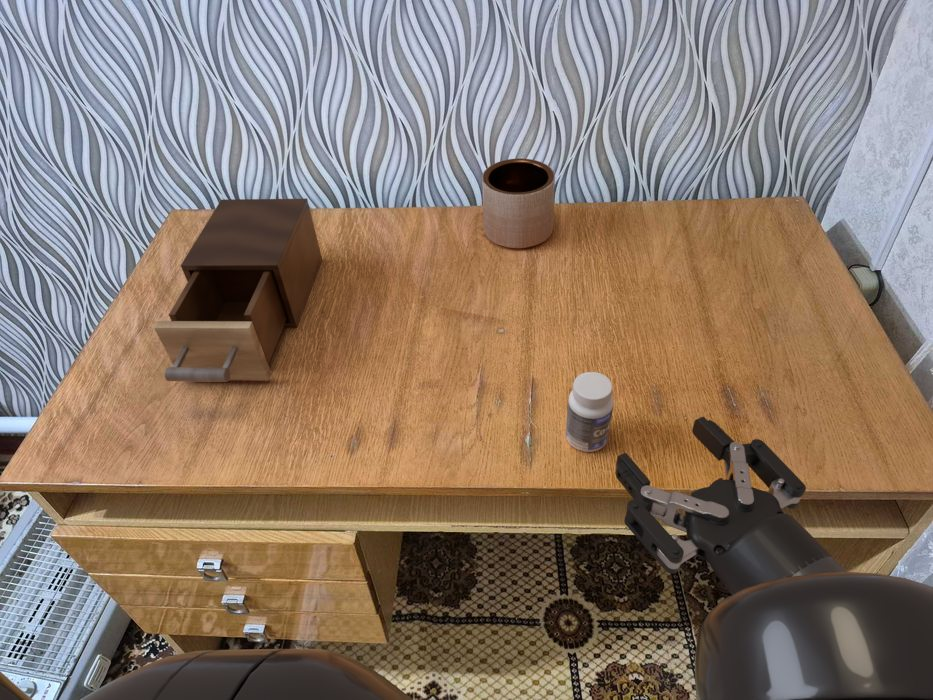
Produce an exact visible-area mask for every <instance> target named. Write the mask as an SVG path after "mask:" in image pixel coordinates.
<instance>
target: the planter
mask: <svg viewBox="0 0 933 700" xmlns="http://www.w3.org/2000/svg"><path fill="white" fill-rule="evenodd" d="M555 186H556V174H555V171H554V170H553V169H552V167H551V166H549V165H548V164H547V163H545V162H542V161H539V160H536V159H530V158H509V159H503V160H499V161H497V162H494V163H493V164H491V165H490V166H488V167H487V168H486V169H485V170H484V171H483V172H482V175H481V187H482V226H483V227H482V228H483V232H484V235H485V237H486V238H487V239H488V240H489V241H490V242H492V243H493V244H496V245H498V246H500V247H504V248H509V249H519V250H520V249H527V248H532V247H534V246H538V245H540V244H542V243H544V242H546V241H547V240H549V238H550V237H551V235H552V234H553V231H554V224H555V221H554V219H555Z"/></svg>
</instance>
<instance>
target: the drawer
mask: <svg viewBox="0 0 933 700" xmlns="http://www.w3.org/2000/svg"><path fill="white" fill-rule="evenodd" d="M287 316H288V315H287V312H286V309H285V306H284V303H283V300H282V297H281V293H280V290H279V287H278V284H277V281H276V278H275V275H274V272H273V270H195V271H194V272H193V274H192V276H191V277H190V279H189V281H188V282H187V283H186V284H185V286H184V288H183V289H182V291H181V293H180V294H179V296H178V298H177V299H176V301H175V302H174V305H173V306H172V308H171V310H170V311H169V313H168V317H169V320H158V321H157V322H156V323H155V325H154V327H153V329H154V331H155V333H156V335H157V336H158V339H159V341H160V343H161V345H162V346H163V349H164V351H165V353H166V354H167V356H168V358H169V360H170V362H171V364H172V366H167V367H166V368H165V371H164V378H165V380H166V381H167V382H196V383H197V382H202V383H204V382H206V383H207V382H208V383H210V382H211V383H228V382H229V381H257V382H258V381H260V382H261V381H265V382H269V381H270V379H271V377H272V372H271V368H270V366H269V365H270V362H271V360H272V357H273V355H274V353H275V352H274V351H275V349H276V347H277V345H278V342H279V339H280V336H281V335H282V332H283V329H284V328H283V326H284V324H285V321H286V319H287Z"/></svg>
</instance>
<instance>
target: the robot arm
mask: <svg viewBox="0 0 933 700" xmlns="http://www.w3.org/2000/svg"><path fill="white" fill-rule="evenodd" d="M691 431H692V434H693V436H694V437H695V438H696V439H697V440H698V441H699V442H700V443H701V444H702V445H703V446H704V447H705V449H707V450H708V452H710V454H712V456H713V457H714V458H715V459H716V460H717V461H719V462H720V461H722V460H723V467H724V477H725V479H724V478H723V477H720V478H717V479H716V480H714V481H712V482H711V483H710V485H708V486H706V487H705V486H704V487H701V488H698V489H695V490H694V491H692V492H691V494H690V495H689V494H687V493H686V494H685V493H683V492H680V491H676V490H673V491H671V492H669V491H666V490H663V489H661V488H658V487H656V486H651V483H652V482H651V480H650V479H649V478H648V476H647V475H646V474H645V473H644V472H643V470H641V468H640V467H639V466H638V465H637V464H636V462H634V460H633V459H632V458H631V457H630V455H629V454H628V453H627V452H622V453H621V454H618V455H617V457H616V462H615V471H614V472H615V473H614V474H615V478H616V480H617V481H618V482H619V483H620V484H621V486H622V487H623V488H624V489H625V490H626V492H627V493H628V494H629V495H630V496H631V498H632V499H631V500H629V501H628V502H627V505H626V512H625V516H624V520H623V521H624V525H625V526H626V527H627V528H628V529H629V531H631V533H632V534H633V535H634V536H635V537H636V539H637V540H638V541H639V542H640V543H641V544H642V545H643V547H644V548H645V549H646V550H647V551H648V552H649V554H650V555H651V556H652V557H653V558H654V560H656V562H657V563H658V564H659V565H660V566H661V568H663V570H664V571H665V572H666V573H668V574H672V575H673V574H676V573H678V571H679V569H680V567H681V565H682V564H683V563H685V562H687V561H688V560H690V559H691V558H692V557H695V556H697V557H699V558H701V559H702V560H704V561H705V562H706V563H707V564H709V566H710V567H711V568H712V570H713V572H714V573H715V575H716V577H717V578H718V579H719V580H720V582H721V583H722V584H723V586H724V587H725V588H726V589H727V590H728V591H729V593H730V594H731V595H730V596H728V597H726V598H724V599H722V600H721V601H719V603H718V604H717V605H715V606H714V607H713V608H712V609H711V610H710V611H709V612H708V613H707V614H706V616H705V619H704V620H703V622H702V623H701V625H700V628H699V630H698V633H697V637H696V645H695V654H694V683H695V685H694V686H695V698H696V700H933V586H932V585H929V584H925V583H922V582H920V581H916V580H914V579H909V578H906V577H900V576H895V575H889V574H883V573H878V572H877V573H876V572H860V571H859V572H856V571H848V570H846V568H845V567H844V566H842V565H841V564H840V562H838V561H837V559H836V558H835V557H834V556H833V555H832V554H831V553H830V552H829V551H828V550H827V549H826V548H825V547H823V545H822V544H821V543H820V542H819V541H818V540H817V539H816V538H815V537H814V536H813V535H812V534H811V533H810V532H809V531H808V530H807V529H806V528H805V527H804V526H803V525H802V524H801V523H800V522H799V521H798V520H797V519H796V518H795V517H794V516H793V515H791V514H788V513H786V512H785V513H784V511H783V509H784V508H787V509H789V510H791V509H793V510H794V509H796V508H797V507H798V505H799V503H800V502H801V499H802V498H803V496H804V494H805V492H806V490H807V486H806V484H805V483H804V482H803V481H802V480H801V479H800V478H799V476H797V475H796V474H795V473H794V472H793V471H792V469H791V468H790V467H789V466H788V465H786V464H785V462H783V460H782V459H781V458H780V457H779V456H778V455H777V454H776V453H775V452H774V451H773V450H772V449H771V447H769V446H768V445H767V443H765V442H764V441H763V440H762V439H758V438H754V439H752V440H751V442H749V443H741V442H739V441H735V440H734V439H732V437H731V436H729V435H728V434H727V433H726V432H725V431H724V430H723V429H722V428H721V427H720V426H719V424H718V423H716V422H715V421H713V420H711V419H707V418H706V417H704V416H701V417H699V418H696V419H695V420H694V422H693V426H692V429H691ZM750 470H752V472H753V473H754V474H755V475H756V476H757V477H758V478H759V479H760V481H762V483H763V484H764V485H765V486H766V487H767V488H768V491H764V490H761V489H758V488H756V487H753V486H752V483H751V475H750V474H751V473H750ZM679 510H680V511H684V514H682V513H680V512H678V511H679ZM657 519H658V520H661V521H662V522H663V524H664V525H665V526H668V527H670V528H673V529H676V530H679V531H681V532H684V533H686V540H683V539H681V538H680V537H679V536H678V535H677V534H675V533H674V534H670V533H669V532H668V531H667V530H666V528H665V527H664V526H663V525H662V524H661V523H660V522H659V521H658V520H657ZM0 700H34V699H33V698H32V697H31V696H30V695H28V693H26V692H25V691H24V690H22V688H20V687H18V685H17V684H15V683H14V682H13V681H12V680H11V679H10V678H9V677H8V676H7V675H5V674H4V672H2V671H1V670H0ZM80 700H414V699H413V698H412V697H411V696H409V695H408V694H407V693H406V692H405V691H403V690H402V689H400V688H399V687H398V686H396V685H395V684H394V683H392V682H391V681H390V680H389V679H388V678H386V677H385V676H383V674H380V673H379V672H377V671H376V670H374V669H372V668H371V667H369V666H368V665H366V664H364V663H362V662H360V660H356V659H354V658H352V657H350V656H347V655H345V654H342V653H340V652H338V651H332V650H327V649H320V648H262V649H261V648H259V649H257V648H255V649H254V648H253V649H251V648H250V649H207V650H194V651H190V652H184V653H183V652H182V653H179V654H174V655H170V656H166V657H162V658H159V659H157V660H155V661H152V662H149V663H148V664H145V665H143V666H141V667H138V668H136V669H135V670H132V671H130V672H128V673H126V674H124V675H121V676H119V677H117V678H115V679H113V680H112V681H110V682H108V683H106V684H104V685H102V686H101V687H100V688H97V689H96V690H94V691H93V692H90V693H89V694H87V695H85V696H84V697H82V698H81V699H80Z"/></svg>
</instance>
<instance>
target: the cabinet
mask: <svg viewBox="0 0 933 700" xmlns="http://www.w3.org/2000/svg"><path fill="white" fill-rule="evenodd" d="M310 208H311V207H310V204H309V201H308V198H244V199H242V198H240V199H239V198H238V199H237V198H235V199H220V200H219V203H218V204H217V206H216V207H215V209H214V211H213V212H212V214H211V215H210V217H209V218H208V220H207V222H205V223H206V224H205V225H204V227H203V228H202V230H201V231H200V233H199V235H198V236H197V237H196V239H195V241H194V243H193V245H192V246H191V247H190V249H189V251H188V253H187V254H186V256H185V258H184V259H183V261H182V262H181V264H180V268H181V270H182V272H183V274H184V277H185V279H186V281H187V283H188V281H189V279H190V277H191V276H192V274H193V272H194V271H195V270H273V272H274V275H275V278H276V281H277V284H278V287H279V290H280V293H281V297H282V300H283V303H284V306H285V309H286V312H287V315H288V316H287V319H286V321H285V324H284V326H283V329H297V328H298V326H299V324H300V321H301V318H302V315H303V314H304V313H303V312H304V310H305V307H306V306H307V305H306V304H307V302H308V300H309V296H310V294H311V291H312V288H313V285H314V283H315V280H316V277H317V275H318V272H319V269H320V266H321V264H322V261H323V257H322V253H321V248H320V245H319V240H318V236H317V233H316V229H315V228H316V227H315V224H314V221H313V220H314V219H313V217H312V213H311V209H310Z"/></svg>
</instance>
